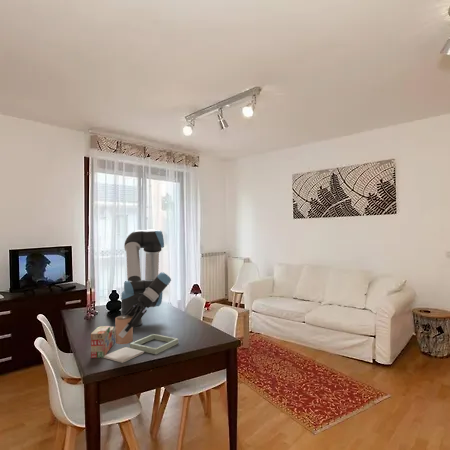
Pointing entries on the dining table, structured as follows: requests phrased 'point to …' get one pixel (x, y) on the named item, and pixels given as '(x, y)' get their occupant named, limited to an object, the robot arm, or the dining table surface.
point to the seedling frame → (157, 350)
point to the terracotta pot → (119, 326)
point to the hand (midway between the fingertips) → (117, 334)
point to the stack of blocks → (102, 341)
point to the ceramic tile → (123, 354)
